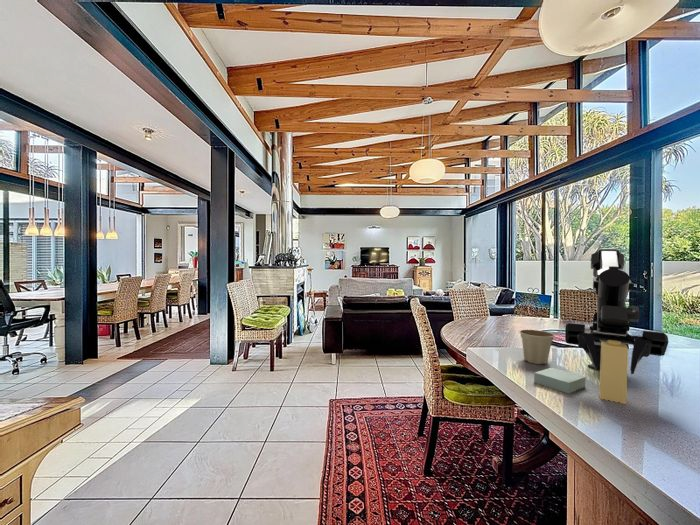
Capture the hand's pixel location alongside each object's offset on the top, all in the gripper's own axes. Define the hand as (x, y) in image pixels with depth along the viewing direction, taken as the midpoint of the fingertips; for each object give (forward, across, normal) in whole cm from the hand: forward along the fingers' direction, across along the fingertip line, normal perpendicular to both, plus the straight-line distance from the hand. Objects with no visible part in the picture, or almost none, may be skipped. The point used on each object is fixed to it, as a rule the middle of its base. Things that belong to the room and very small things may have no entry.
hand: (613, 370), depth 76 cm
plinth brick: (+2, -10, +7) cm, 13 cm away
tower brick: (+4, 0, +6) cm, 7 cm away
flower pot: (-11, -17, +21) cm, 29 cm away
